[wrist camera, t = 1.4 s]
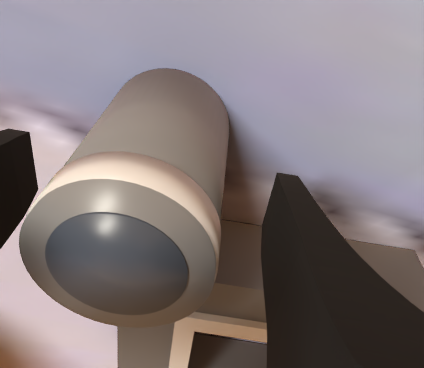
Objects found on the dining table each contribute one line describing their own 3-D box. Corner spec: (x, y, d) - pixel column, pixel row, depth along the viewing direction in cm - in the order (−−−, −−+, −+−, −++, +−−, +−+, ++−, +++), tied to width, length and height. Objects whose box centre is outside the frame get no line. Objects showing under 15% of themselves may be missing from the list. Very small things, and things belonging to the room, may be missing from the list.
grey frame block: (134, 350, 23) (116, 418, 20) (139, 206, 17) (114, 273, 14) (334, 381, 23) (347, 454, 20) (414, 250, 17) (451, 326, 14)
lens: (110, 167, 16) (29, 315, 10) (109, 57, 13) (-2, 170, 7) (220, 185, 16) (203, 343, 10) (240, 78, 13) (233, 207, 7)
